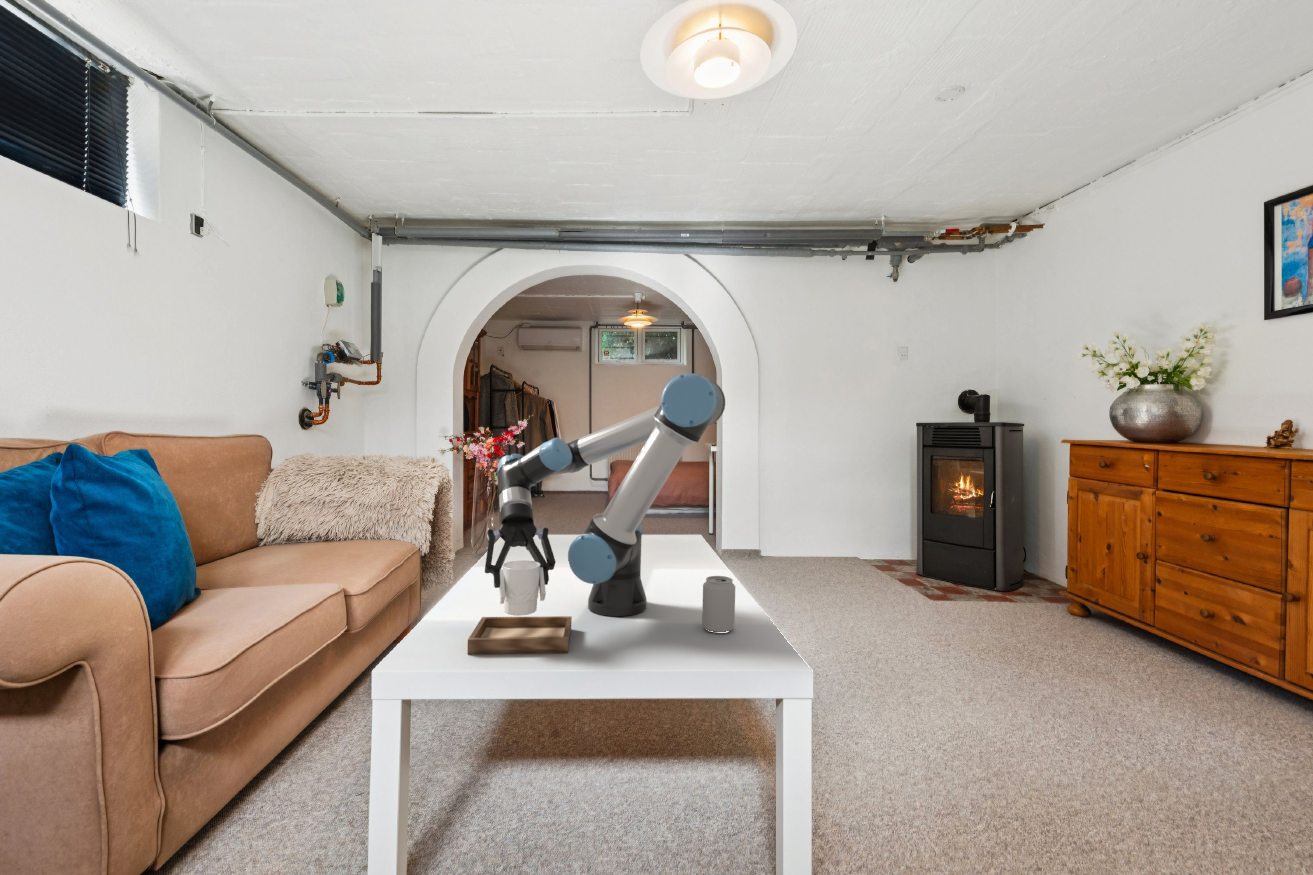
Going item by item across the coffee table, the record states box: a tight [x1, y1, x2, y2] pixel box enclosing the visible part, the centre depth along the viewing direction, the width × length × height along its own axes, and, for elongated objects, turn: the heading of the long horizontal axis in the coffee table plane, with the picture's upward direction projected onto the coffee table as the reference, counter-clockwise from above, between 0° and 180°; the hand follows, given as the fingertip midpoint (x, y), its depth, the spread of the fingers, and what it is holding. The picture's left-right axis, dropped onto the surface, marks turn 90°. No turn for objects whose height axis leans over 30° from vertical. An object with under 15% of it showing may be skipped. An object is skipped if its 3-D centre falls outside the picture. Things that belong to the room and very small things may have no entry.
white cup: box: [502, 560, 540, 617], centre depth 123 cm, size 8×8×10 cm
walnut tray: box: [467, 615, 573, 655], centre depth 123 cm, size 20×14×3 cm
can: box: [701, 575, 736, 632], centre depth 133 cm, size 8×8×12 cm
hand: (523, 598), depth 120 cm, fingers closed on white cup, 8 cm apart
